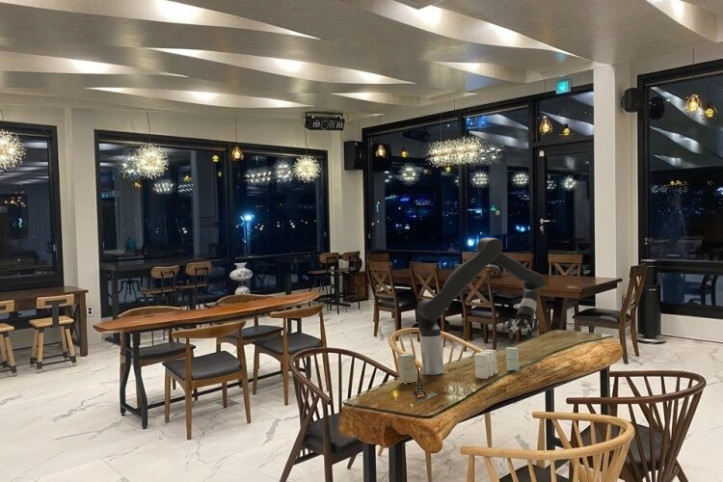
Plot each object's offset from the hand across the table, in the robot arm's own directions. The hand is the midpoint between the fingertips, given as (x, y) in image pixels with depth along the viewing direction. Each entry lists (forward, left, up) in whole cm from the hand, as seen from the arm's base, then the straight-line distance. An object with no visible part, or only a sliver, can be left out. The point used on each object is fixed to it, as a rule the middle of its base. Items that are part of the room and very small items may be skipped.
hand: (519, 338), depth 257 cm
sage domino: (-5, -8, -13) cm, 16 cm away
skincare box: (-51, -21, -13) cm, 57 cm away
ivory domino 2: (-17, -14, -13) cm, 26 cm away
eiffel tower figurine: (-46, -42, -13) cm, 64 cm away
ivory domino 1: (-19, -18, -13) cm, 29 cm away
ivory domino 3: (-15, -10, -13) cm, 22 cm away
